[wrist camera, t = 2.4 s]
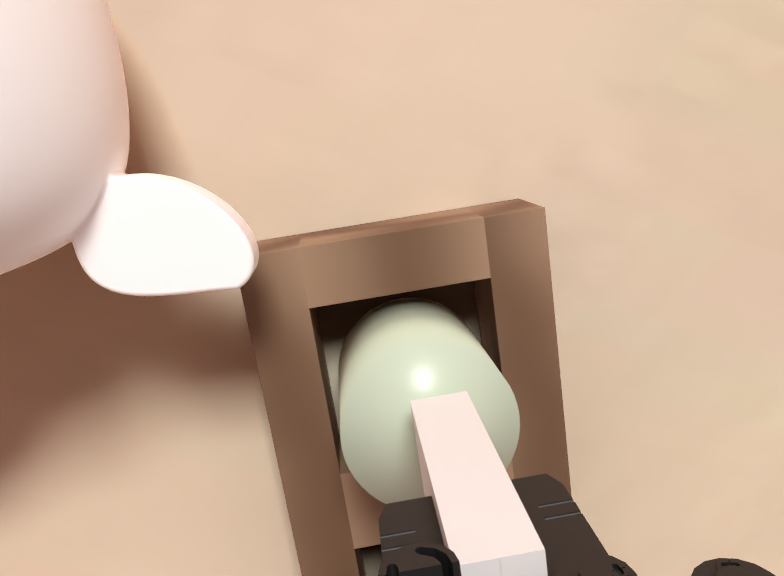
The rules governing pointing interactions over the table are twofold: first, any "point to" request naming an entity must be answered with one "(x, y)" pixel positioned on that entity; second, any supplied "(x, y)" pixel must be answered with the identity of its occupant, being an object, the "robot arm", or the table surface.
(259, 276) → the brown wooden slot rack
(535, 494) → the robot arm
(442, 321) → the sage button
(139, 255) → the piggy bank
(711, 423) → the table surface
